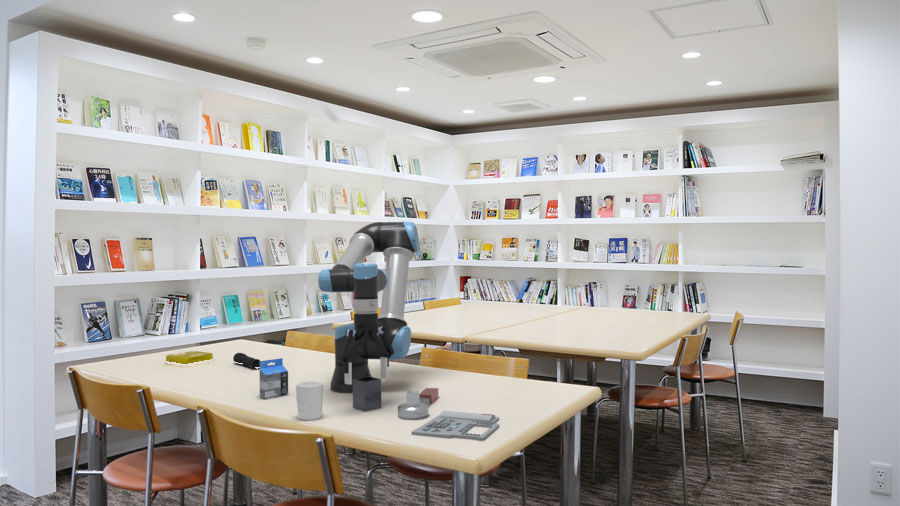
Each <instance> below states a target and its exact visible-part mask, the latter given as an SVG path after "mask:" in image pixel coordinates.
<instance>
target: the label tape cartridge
mask: <svg viewBox="0 0 900 506" xmlns="http://www.w3.org/2000/svg"><path fill="white" fill-rule="evenodd" d="M283 360H284V359H283V358H282V357H281V358H275V359H266V360H260V361H259V364H260V368H259V398H260V397H261V398H260V399H263V400H267V399H268V398H269V399H273V397H274V398H279V397H284V396H283V395H285V396H289V370H288V369H287V368H286V367H285V366H284V364H283V362H284V361H283ZM271 363H272V364H271ZM278 396H279V397H278Z"/></svg>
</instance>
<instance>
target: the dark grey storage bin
mask: <svg viewBox="0 0 900 506" xmlns="http://www.w3.org/2000/svg"><path fill="white" fill-rule="evenodd" d="M382 398H383V397H382V378H377V377H373V376H372V377H370V376H368V377H363V378H357V379H353V392H352V408H353V409H355V410H358V411H360V412H363V413H364V412H369V411H374V410H379V409H382V408H383V407H382V404H383V403H382V401H383V400H382Z"/></svg>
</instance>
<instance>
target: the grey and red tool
mask: <svg viewBox="0 0 900 506" xmlns="http://www.w3.org/2000/svg"><path fill="white" fill-rule="evenodd" d="M438 398H439V388H438V387H425V388H424V389H423V390H422V391H421V392H420V391H412V390H409V391H407V392H406V394H405V399H406V400H405V402H404V403H400V404H399V405H397V418H398V419H400V420H406V421H419V420H424V419H427V418H428V417H429V407H430V406H431V405H433V404H434V403H435V401H437V399H438Z"/></svg>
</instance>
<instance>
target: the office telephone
mask: <svg viewBox="0 0 900 506" xmlns="http://www.w3.org/2000/svg"><path fill="white" fill-rule="evenodd" d="M499 420H500V416H499V417H498V416H496V415H495V414H490V413H479V412H478V413H477V412H465V411H452V410H443V411H441V413H440V414H439V415H437V416H436V417H434V418H432V419H430V420H429V421H427V422H426V423H423V424H422V425H420V426H419V427H417V428H415V429H413V430H412V431H411V432H410V433H411V435H412V436H419V437H431V438H439V439H460V440H461V439H463V440H472V441H473V440H474V441H479V442H484V441H485V440H486V439H487V438H489V437H490V436H491V435H492V434H493V433H494V432H495V431H497V430H498V429H499V427H500V424H499V423H497V422H499ZM474 427H478V428H485V429H486V428H488V429H487V430H486V431H484V432H483V433H482V434H480V433H469V431H470V430H471V429H472V428H474Z"/></svg>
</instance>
